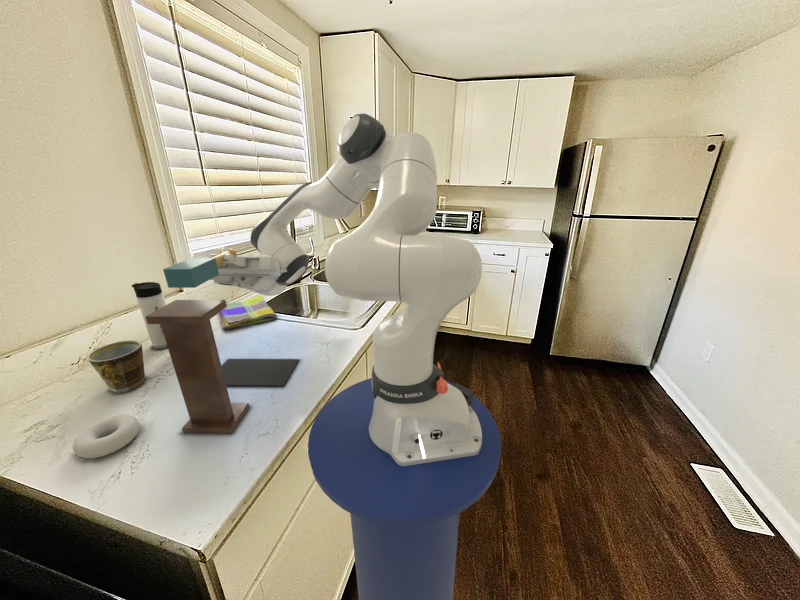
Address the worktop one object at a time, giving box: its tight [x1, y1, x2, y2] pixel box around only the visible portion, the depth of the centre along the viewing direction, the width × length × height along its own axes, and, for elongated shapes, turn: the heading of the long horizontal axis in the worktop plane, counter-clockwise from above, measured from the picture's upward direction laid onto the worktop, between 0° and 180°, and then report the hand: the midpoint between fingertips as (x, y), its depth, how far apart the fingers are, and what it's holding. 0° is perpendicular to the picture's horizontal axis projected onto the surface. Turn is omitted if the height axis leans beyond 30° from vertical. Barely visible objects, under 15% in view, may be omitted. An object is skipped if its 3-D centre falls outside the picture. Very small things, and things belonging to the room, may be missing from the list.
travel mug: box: [131, 281, 168, 350], centre depth 97 cm, size 6×7×20 cm
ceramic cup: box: [87, 339, 146, 394], centre depth 78 cm, size 13×10×10 cm
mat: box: [221, 358, 299, 388], centre depth 86 cm, size 20×12×1 cm, turn 88°
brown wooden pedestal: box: [145, 299, 250, 434], centre depth 65 cm, size 10×8×26 cm
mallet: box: [162, 248, 238, 289], centre depth 67 cm, size 5×19×4 cm, turn 178°
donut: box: [72, 413, 141, 459], centre depth 64 cm, size 10×4×10 cm
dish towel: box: [219, 294, 278, 330], centre depth 121 cm, size 18×24×3 cm
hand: (218, 257), depth 70 cm, fingers closed on mallet, 2 cm apart
